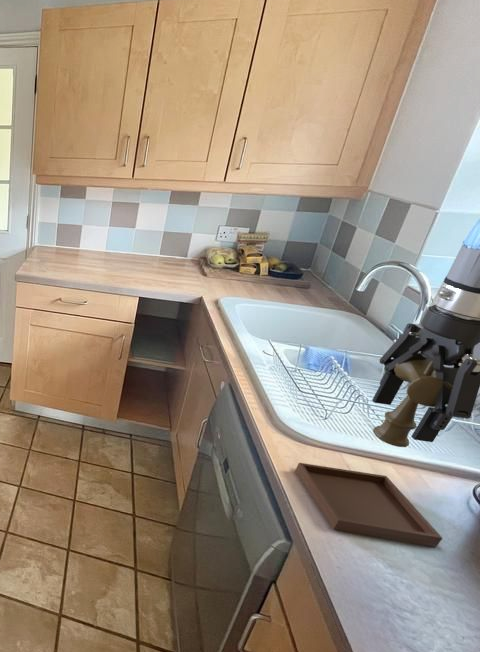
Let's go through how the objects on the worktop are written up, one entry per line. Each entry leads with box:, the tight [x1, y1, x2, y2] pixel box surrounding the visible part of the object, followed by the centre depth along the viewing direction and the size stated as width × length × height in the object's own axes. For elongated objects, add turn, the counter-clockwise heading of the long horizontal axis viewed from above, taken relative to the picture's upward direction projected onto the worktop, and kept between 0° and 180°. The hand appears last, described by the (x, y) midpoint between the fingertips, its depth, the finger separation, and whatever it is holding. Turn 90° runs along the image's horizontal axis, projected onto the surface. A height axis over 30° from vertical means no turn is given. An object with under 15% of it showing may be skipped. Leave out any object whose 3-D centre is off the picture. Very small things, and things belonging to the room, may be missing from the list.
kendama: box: [372, 358, 453, 448], centre depth 75 cm, size 6×10×20 cm, turn 146°
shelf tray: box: [294, 462, 443, 548], centre depth 81 cm, size 16×14×2 cm
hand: (400, 419), depth 77 cm, fingers closed on kendama, 10 cm apart
